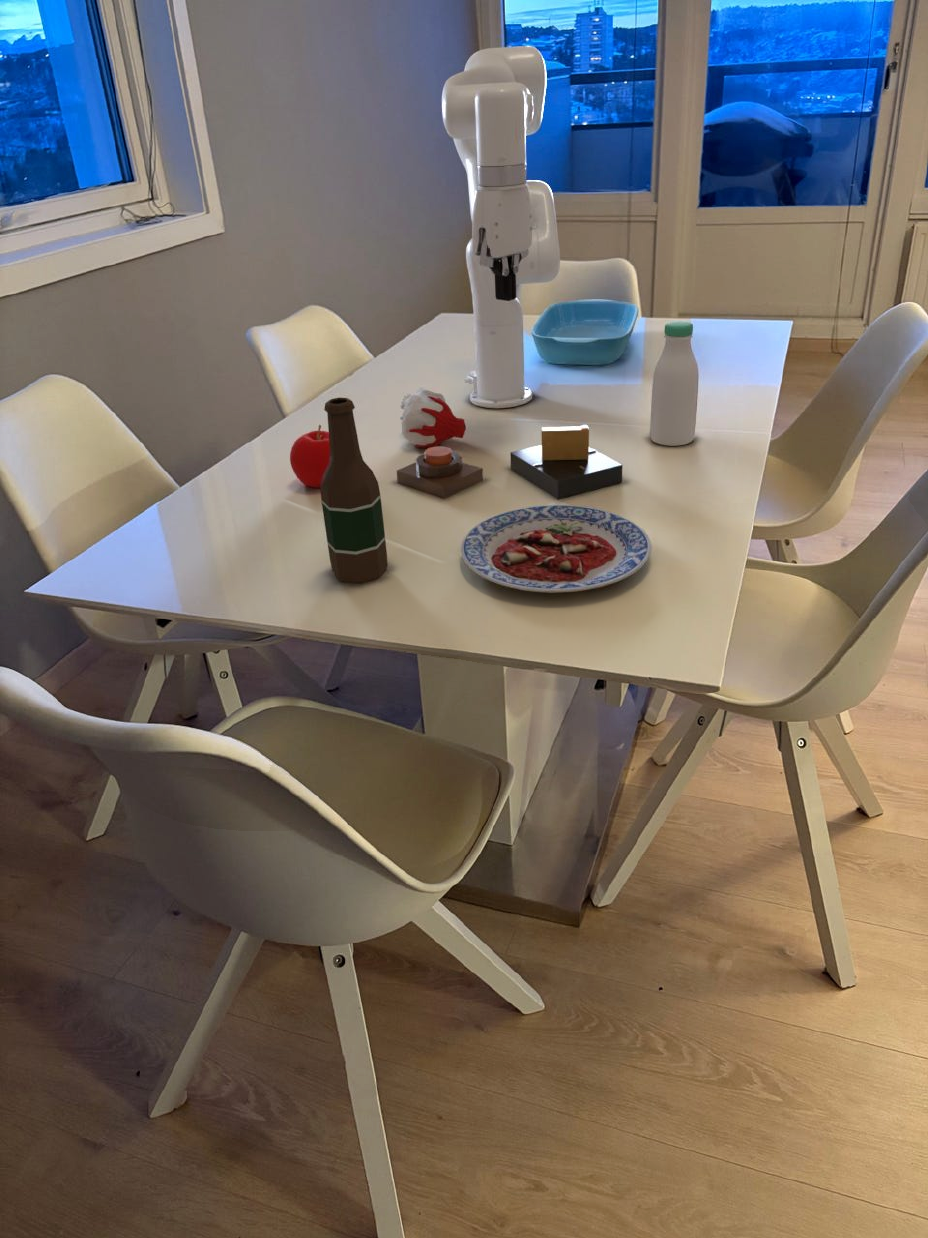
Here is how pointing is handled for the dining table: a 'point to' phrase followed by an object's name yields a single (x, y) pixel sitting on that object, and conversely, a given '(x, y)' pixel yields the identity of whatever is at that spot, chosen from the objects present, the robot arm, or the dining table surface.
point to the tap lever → (565, 443)
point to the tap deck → (566, 472)
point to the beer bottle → (351, 502)
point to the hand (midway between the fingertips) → (505, 298)
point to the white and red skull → (429, 419)
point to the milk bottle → (675, 388)
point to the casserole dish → (584, 331)
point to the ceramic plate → (556, 548)
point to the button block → (440, 476)
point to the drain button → (438, 455)
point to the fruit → (311, 457)
